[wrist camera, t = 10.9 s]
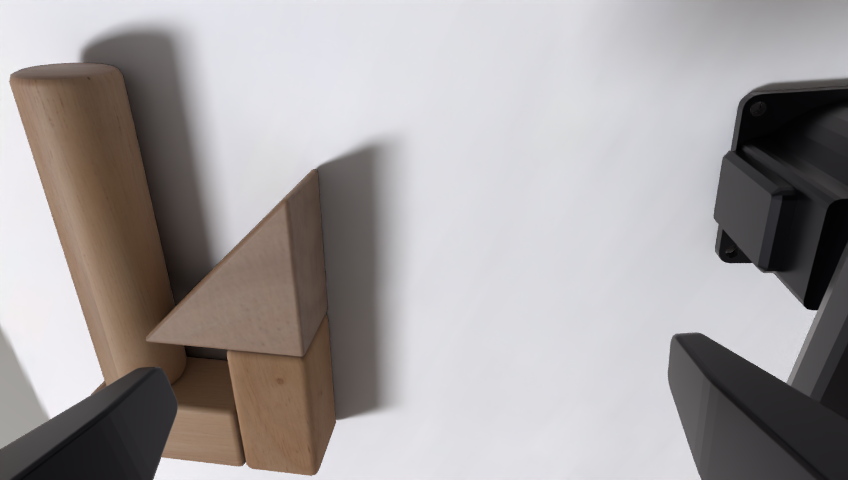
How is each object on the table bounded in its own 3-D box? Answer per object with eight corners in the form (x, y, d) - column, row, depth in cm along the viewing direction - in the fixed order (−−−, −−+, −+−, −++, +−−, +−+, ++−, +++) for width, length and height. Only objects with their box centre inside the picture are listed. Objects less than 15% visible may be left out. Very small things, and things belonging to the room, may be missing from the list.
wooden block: (317, 480, 25) (278, 88, 17) (103, 454, 26) (-29, 74, 18) (338, 422, 28) (313, 70, 20) (147, 401, 29) (52, 59, 21)
